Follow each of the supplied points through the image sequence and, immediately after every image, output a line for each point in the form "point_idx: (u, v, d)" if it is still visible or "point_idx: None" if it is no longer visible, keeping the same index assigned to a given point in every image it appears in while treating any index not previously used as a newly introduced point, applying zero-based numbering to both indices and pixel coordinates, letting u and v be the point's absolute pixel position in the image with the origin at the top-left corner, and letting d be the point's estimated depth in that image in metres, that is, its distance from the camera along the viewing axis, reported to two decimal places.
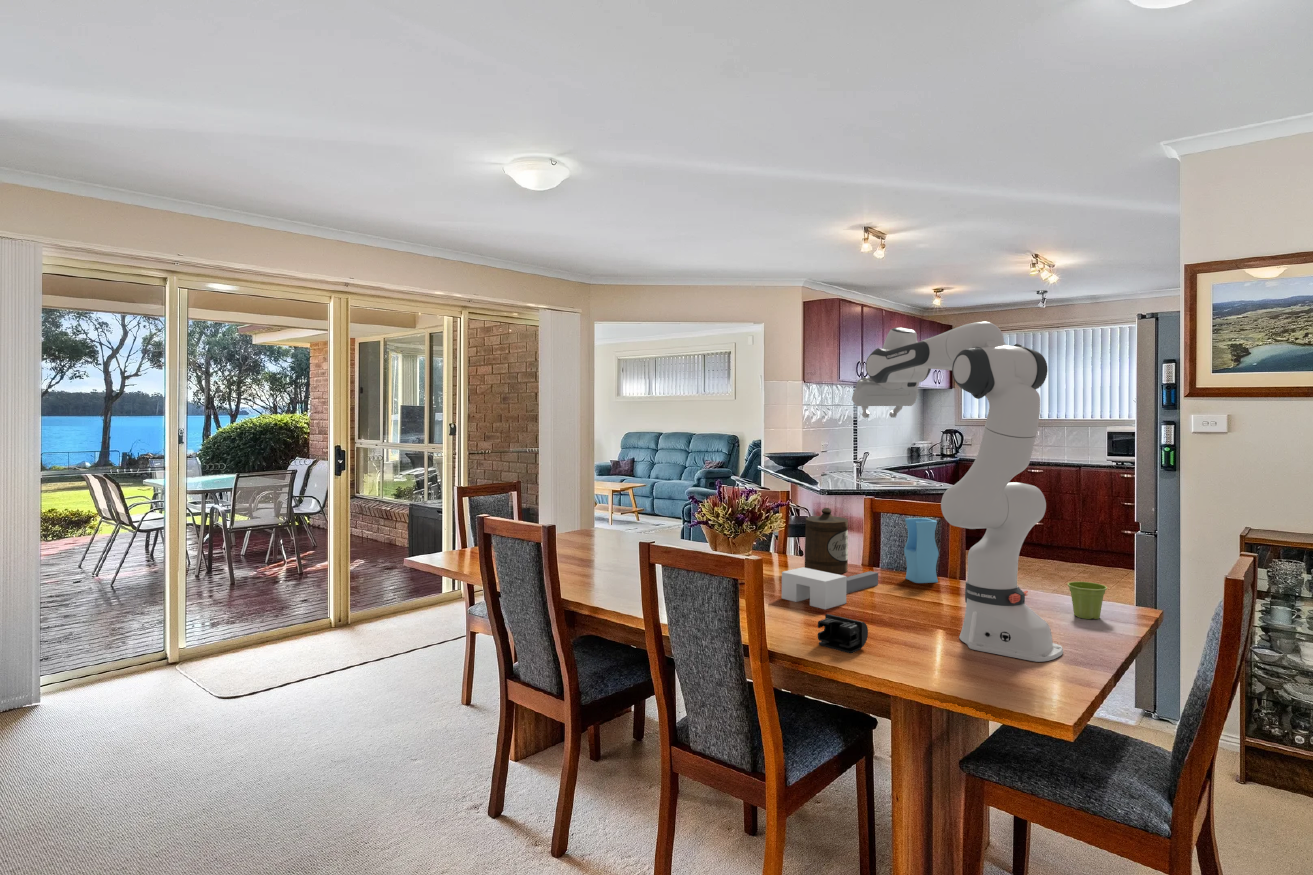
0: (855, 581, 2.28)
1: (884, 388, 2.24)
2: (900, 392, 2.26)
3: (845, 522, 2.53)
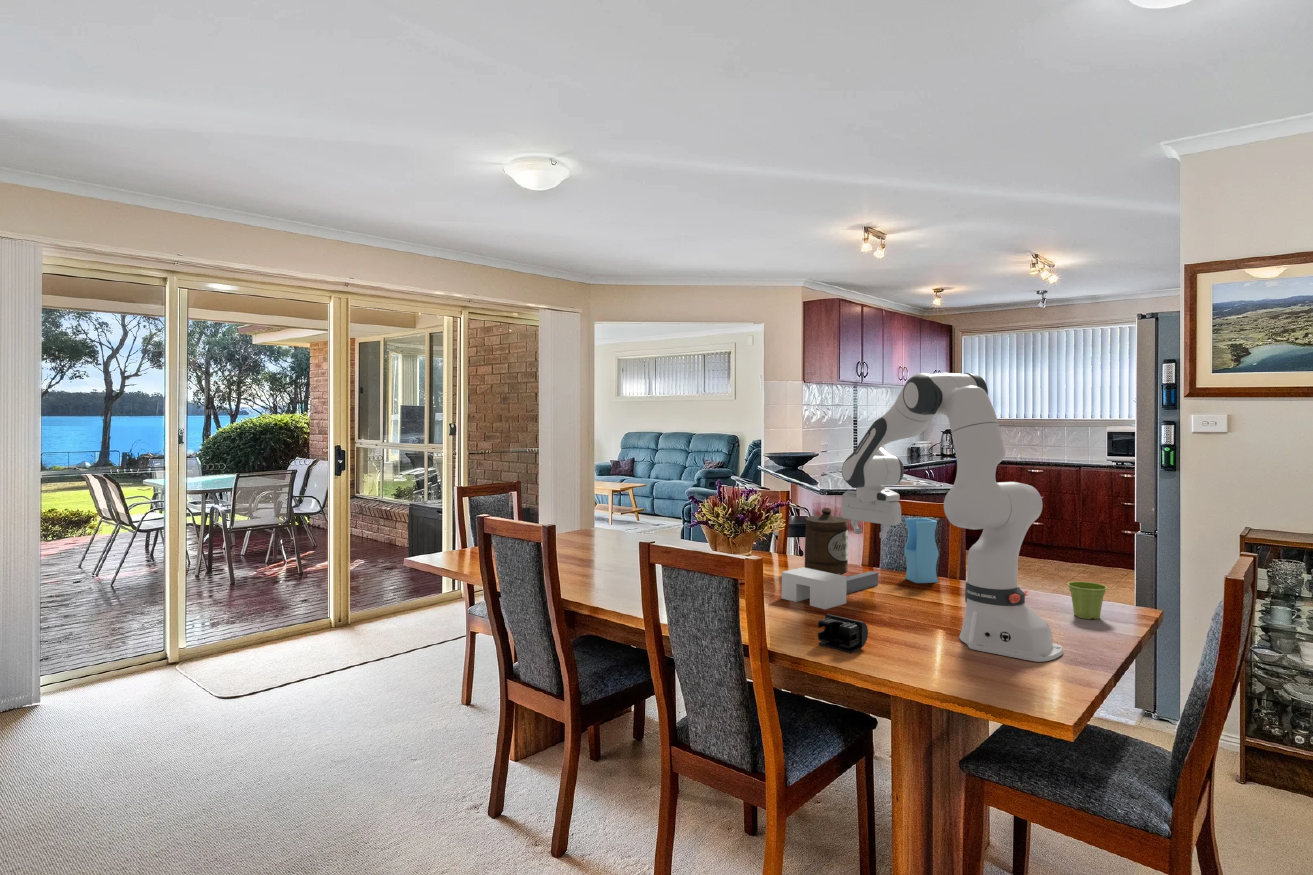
0: (855, 581, 2.28)
1: (860, 501, 2.35)
2: (878, 508, 2.31)
3: (845, 522, 2.53)
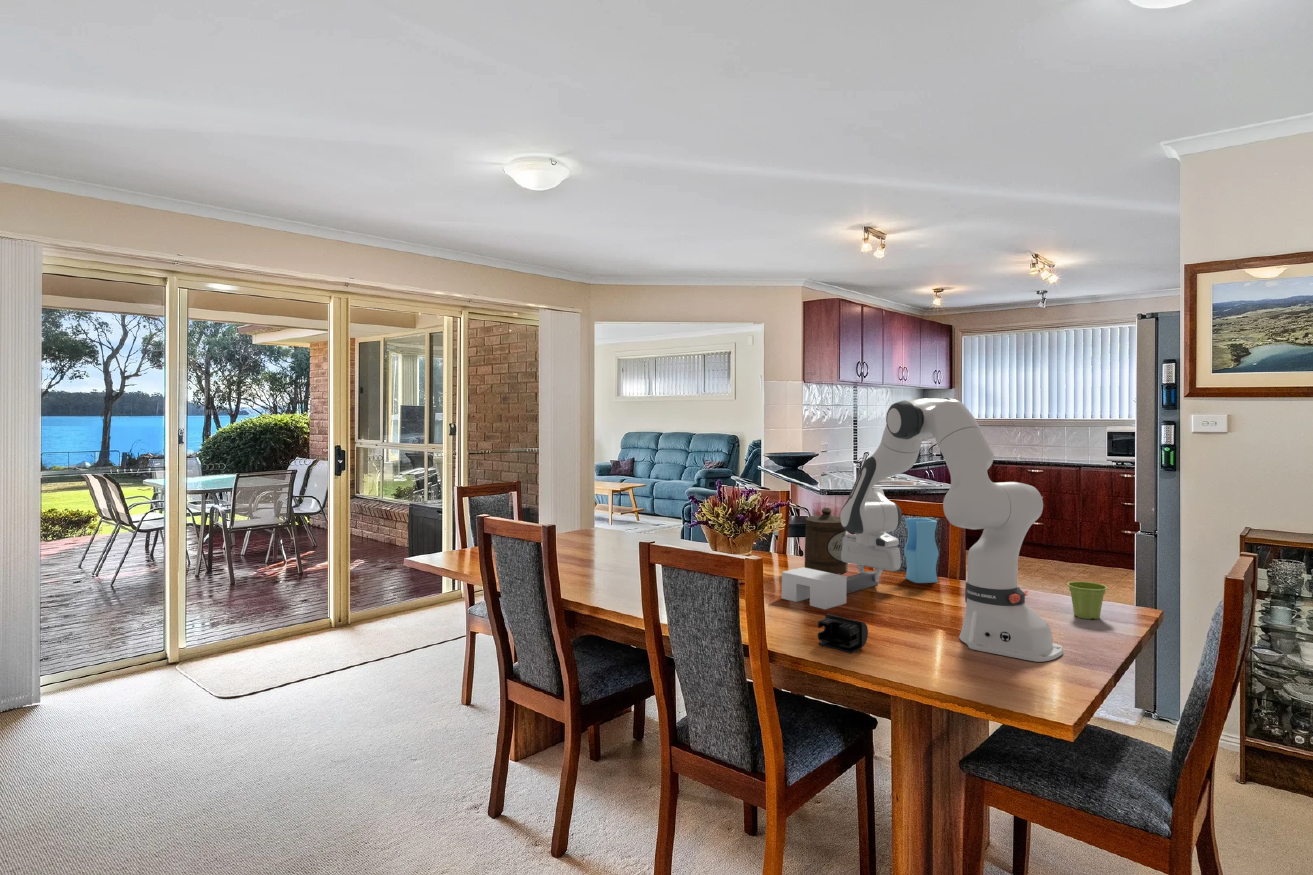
0: (855, 581, 2.28)
1: (860, 545, 2.36)
2: (878, 553, 2.32)
3: None
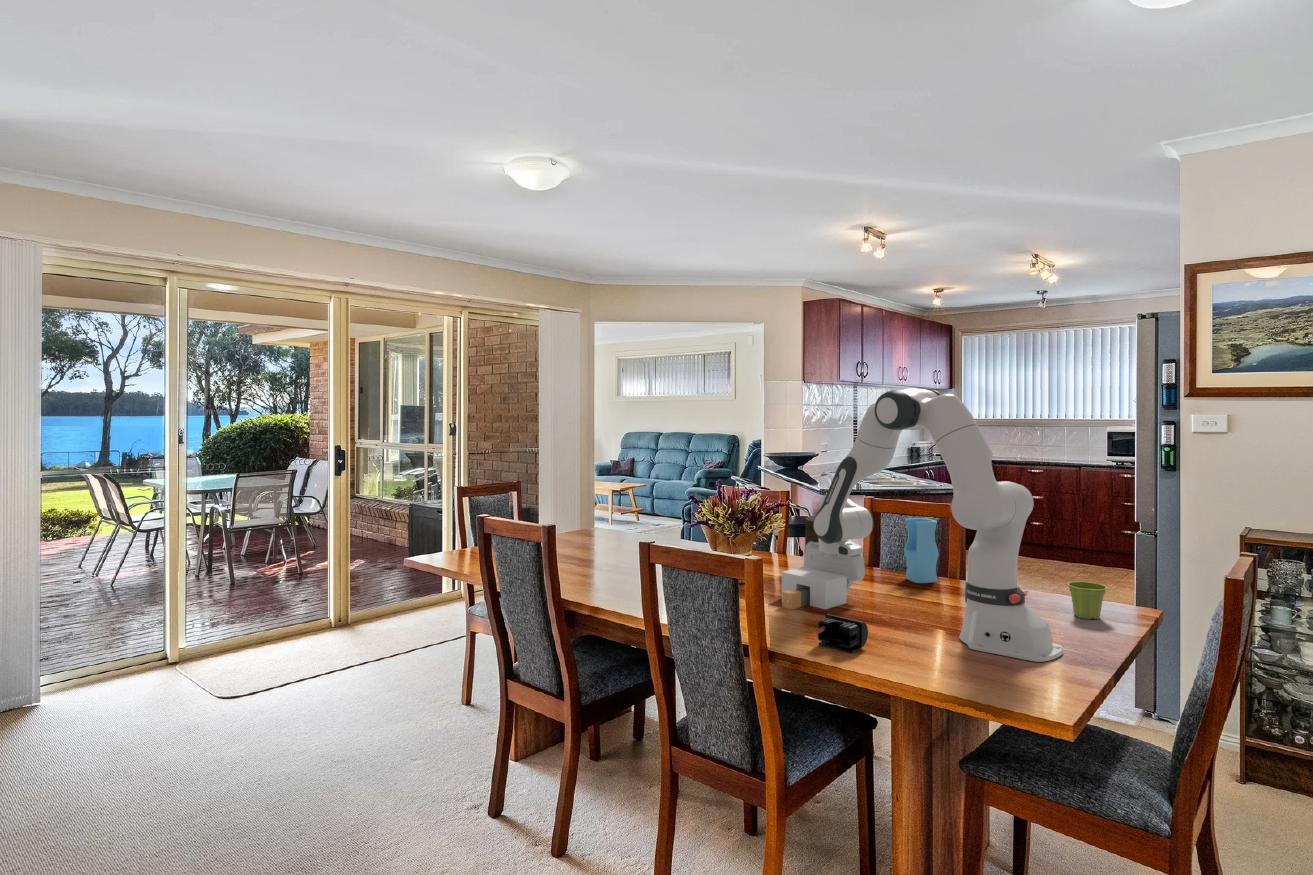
0: None
1: (822, 553, 2.23)
2: (841, 562, 2.19)
3: None
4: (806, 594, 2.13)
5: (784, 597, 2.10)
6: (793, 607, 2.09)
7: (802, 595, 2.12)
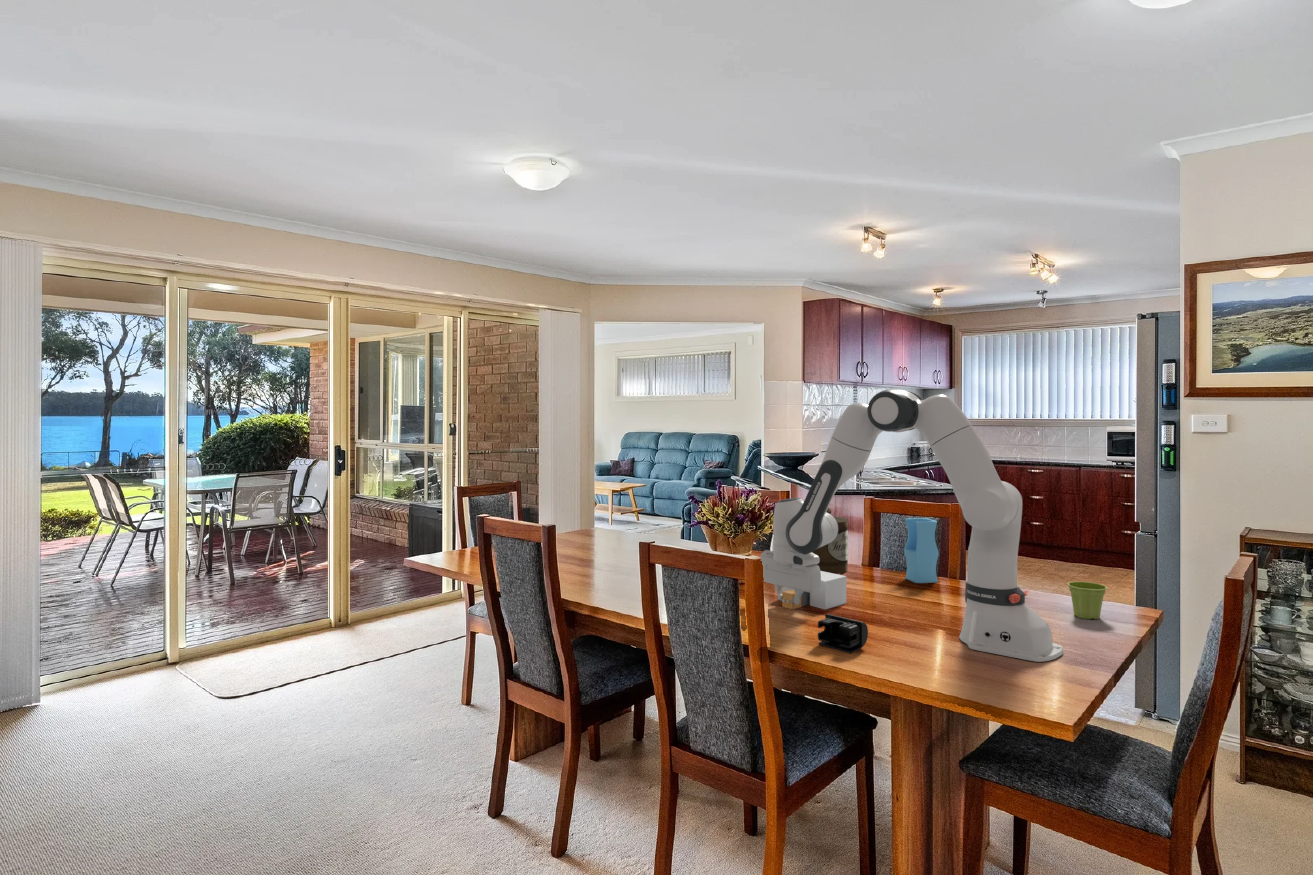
0: None
1: (777, 563, 2.10)
2: (796, 572, 2.05)
3: (845, 522, 2.53)
4: (806, 594, 2.13)
5: (784, 597, 2.10)
6: (793, 607, 2.09)
7: (802, 595, 2.11)
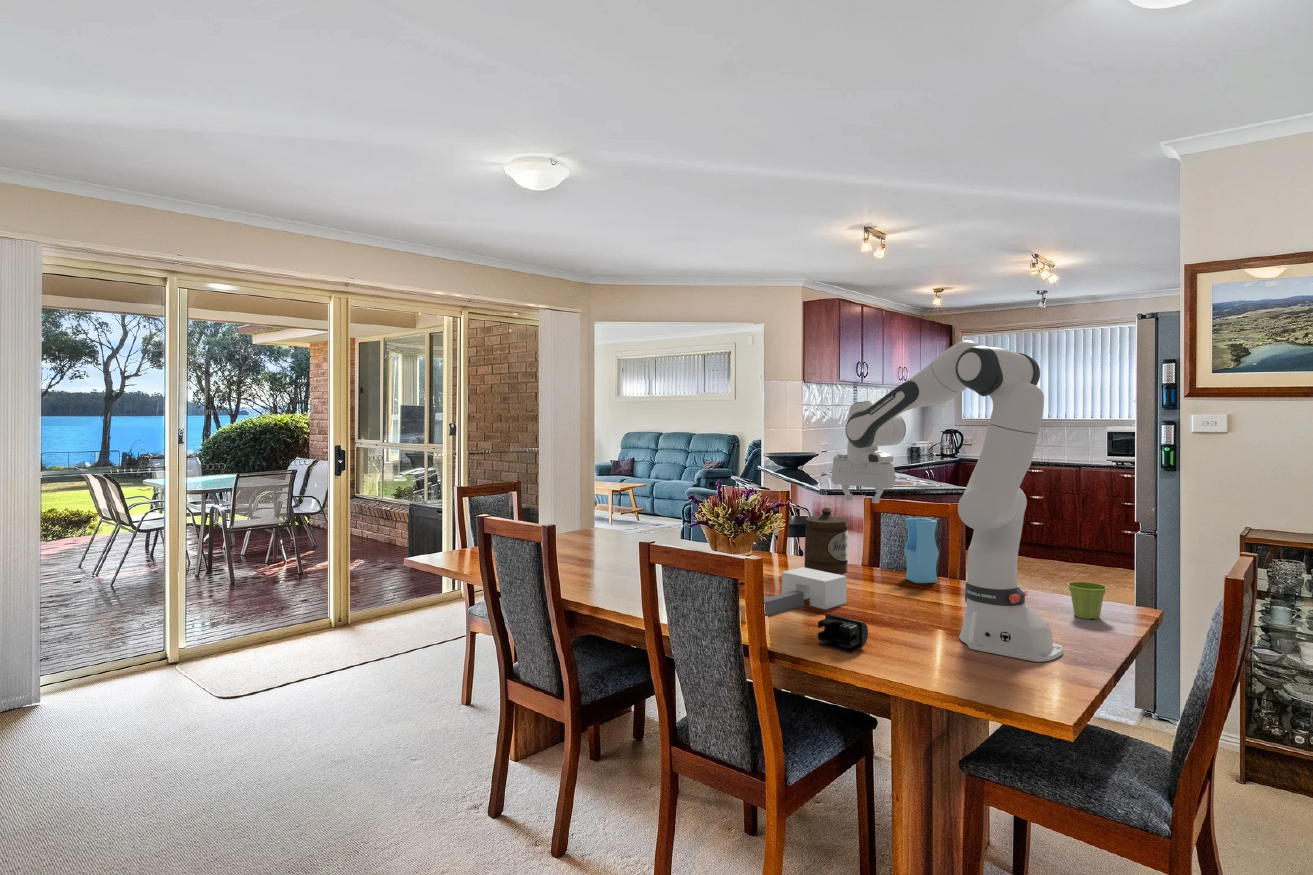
0: (775, 603, 2.04)
1: (851, 464, 2.20)
2: (871, 471, 2.15)
3: (845, 522, 2.53)
4: None
5: None
6: None
7: None
